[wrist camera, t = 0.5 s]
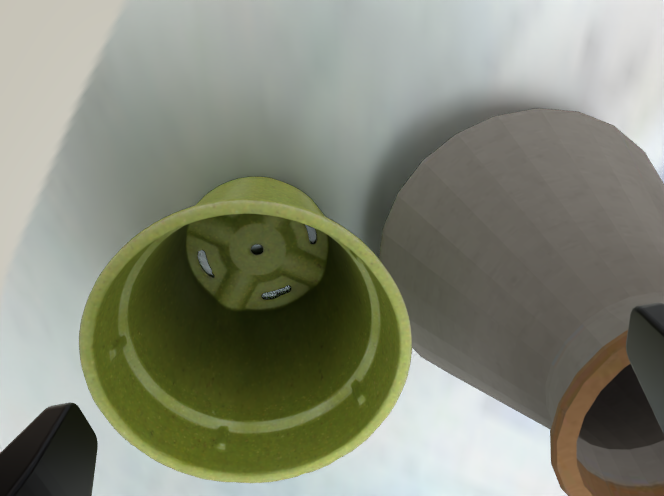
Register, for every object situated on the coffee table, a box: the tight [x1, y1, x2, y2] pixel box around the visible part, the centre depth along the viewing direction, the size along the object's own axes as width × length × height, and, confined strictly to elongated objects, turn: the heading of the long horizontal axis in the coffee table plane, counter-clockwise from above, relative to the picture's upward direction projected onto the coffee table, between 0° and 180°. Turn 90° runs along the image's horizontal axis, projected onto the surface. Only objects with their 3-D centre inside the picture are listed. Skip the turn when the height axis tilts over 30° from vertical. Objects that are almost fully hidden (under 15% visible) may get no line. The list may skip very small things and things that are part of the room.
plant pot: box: [79, 177, 412, 483], centre depth 21 cm, size 9×9×9 cm
